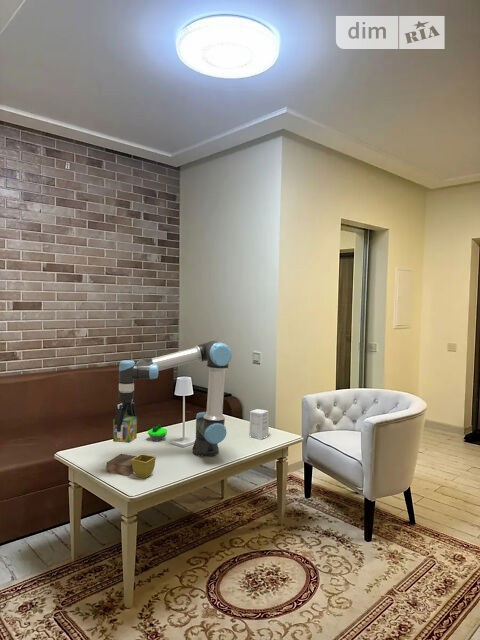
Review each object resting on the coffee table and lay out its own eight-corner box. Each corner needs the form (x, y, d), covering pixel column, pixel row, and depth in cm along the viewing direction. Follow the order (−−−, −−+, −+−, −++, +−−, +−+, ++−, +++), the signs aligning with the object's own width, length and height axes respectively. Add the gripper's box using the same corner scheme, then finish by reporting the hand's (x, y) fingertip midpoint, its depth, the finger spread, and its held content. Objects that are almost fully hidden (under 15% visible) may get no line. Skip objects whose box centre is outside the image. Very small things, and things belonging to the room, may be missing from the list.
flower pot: (130, 477, 216) (131, 459, 215) (140, 471, 224) (141, 453, 223) (146, 480, 213) (146, 462, 212) (155, 474, 221) (156, 456, 220)
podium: (142, 466, 230) (142, 457, 230) (129, 475, 217) (129, 465, 217) (120, 463, 234) (121, 453, 234) (106, 472, 221) (106, 462, 221)
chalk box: (129, 443, 219) (129, 414, 219) (112, 441, 221) (112, 412, 221) (137, 438, 228) (138, 409, 228) (120, 436, 230) (121, 408, 230)
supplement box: (268, 436, 287) (269, 410, 287) (261, 439, 280) (262, 413, 279) (256, 433, 293) (256, 408, 292) (248, 437, 285) (249, 411, 284)
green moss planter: (163, 443, 268) (163, 425, 267) (144, 441, 270) (145, 423, 269) (169, 437, 279) (170, 420, 279) (152, 435, 281) (152, 418, 281)
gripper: (131, 386, 235) (130, 428, 236) (107, 394, 214) (106, 440, 215) (143, 387, 233) (142, 429, 234) (120, 396, 212) (119, 442, 213)
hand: (125, 434), depth 225 cm, fingers closed on chalk box, 9 cm apart
